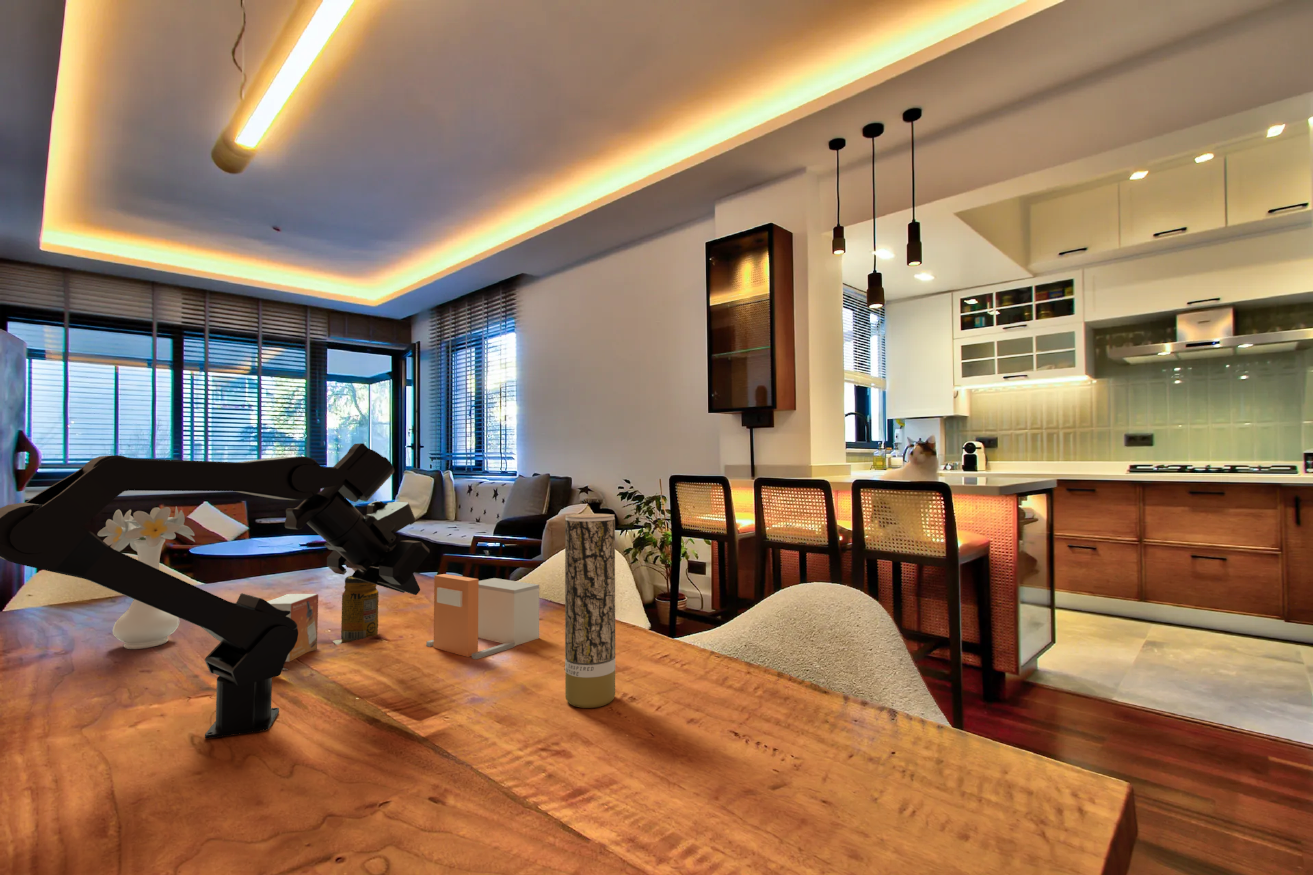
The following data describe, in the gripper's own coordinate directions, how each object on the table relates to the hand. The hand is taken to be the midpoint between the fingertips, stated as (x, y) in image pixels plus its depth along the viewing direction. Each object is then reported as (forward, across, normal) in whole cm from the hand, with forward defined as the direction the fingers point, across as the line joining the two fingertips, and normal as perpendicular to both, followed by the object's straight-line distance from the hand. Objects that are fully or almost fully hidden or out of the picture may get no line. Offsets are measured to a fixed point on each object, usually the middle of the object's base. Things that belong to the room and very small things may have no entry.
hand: (411, 591), depth 95 cm
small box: (+3, +22, +15) cm, 26 cm away
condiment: (+12, +23, +6) cm, 26 cm away
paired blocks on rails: (+17, 0, +1) cm, 17 cm away
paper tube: (+14, -30, +4) cm, 34 cm away
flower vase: (-4, +55, +22) cm, 59 cm away
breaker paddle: (+14, 0, +2) cm, 14 cm away
